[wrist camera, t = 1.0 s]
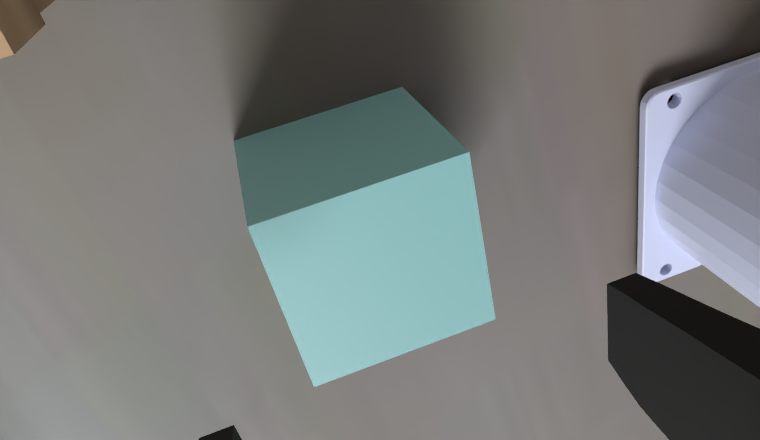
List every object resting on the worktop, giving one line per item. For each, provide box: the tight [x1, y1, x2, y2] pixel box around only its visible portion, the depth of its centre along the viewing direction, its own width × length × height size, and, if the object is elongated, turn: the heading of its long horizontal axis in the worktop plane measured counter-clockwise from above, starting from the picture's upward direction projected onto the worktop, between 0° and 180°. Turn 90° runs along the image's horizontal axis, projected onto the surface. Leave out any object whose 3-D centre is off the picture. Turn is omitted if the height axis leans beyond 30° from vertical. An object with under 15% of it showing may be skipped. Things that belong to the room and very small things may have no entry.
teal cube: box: [234, 87, 495, 387], centre depth 16 cm, size 5×5×5 cm
